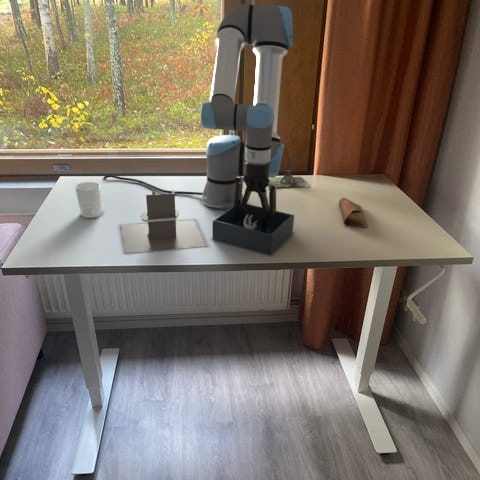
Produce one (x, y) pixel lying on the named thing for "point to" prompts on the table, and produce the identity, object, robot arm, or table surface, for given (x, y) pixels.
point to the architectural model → (161, 228)
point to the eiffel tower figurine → (288, 178)
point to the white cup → (89, 199)
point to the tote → (267, 243)
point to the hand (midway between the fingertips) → (253, 231)
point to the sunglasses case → (351, 213)
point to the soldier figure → (249, 223)
